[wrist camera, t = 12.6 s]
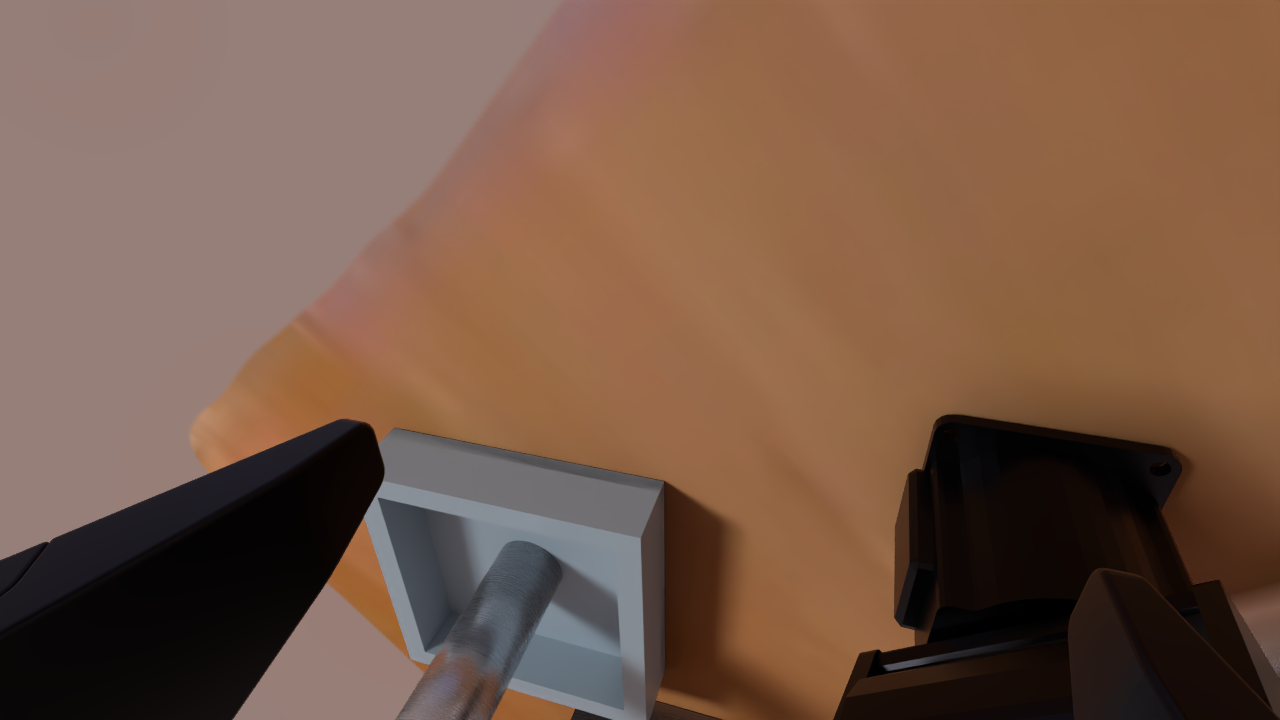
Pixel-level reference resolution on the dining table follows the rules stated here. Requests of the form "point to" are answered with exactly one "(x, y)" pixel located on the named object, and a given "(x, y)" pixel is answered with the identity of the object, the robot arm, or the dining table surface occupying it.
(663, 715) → the pin collar
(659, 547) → the tray
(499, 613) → the pin
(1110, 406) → the dining table surface
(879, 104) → the dining table surface
